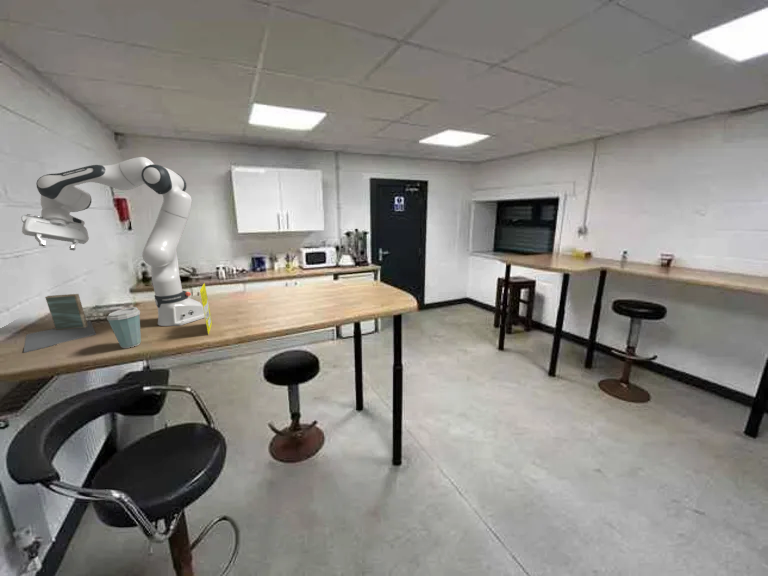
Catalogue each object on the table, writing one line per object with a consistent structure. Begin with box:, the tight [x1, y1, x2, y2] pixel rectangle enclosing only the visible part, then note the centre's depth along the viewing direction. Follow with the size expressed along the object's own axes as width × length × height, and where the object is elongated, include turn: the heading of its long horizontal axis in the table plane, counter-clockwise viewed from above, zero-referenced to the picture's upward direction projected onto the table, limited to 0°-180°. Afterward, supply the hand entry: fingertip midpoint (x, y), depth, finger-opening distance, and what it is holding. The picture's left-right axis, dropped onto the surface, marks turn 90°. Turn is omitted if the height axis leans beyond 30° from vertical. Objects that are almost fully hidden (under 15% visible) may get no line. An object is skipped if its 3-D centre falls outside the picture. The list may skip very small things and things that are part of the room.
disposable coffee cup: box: [106, 306, 142, 349], centre depth 131 cm, size 11×11×15 cm
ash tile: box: [44, 293, 88, 330], centre depth 150 cm, size 2×12×16 cm, turn 100°
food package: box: [199, 282, 213, 336], centre depth 144 cm, size 15×1×20 cm, turn 22°
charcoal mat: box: [23, 320, 97, 353], centre depth 145 cm, size 22×26×1 cm
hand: (58, 247), depth 137 cm, fingers open, 8 cm apart
